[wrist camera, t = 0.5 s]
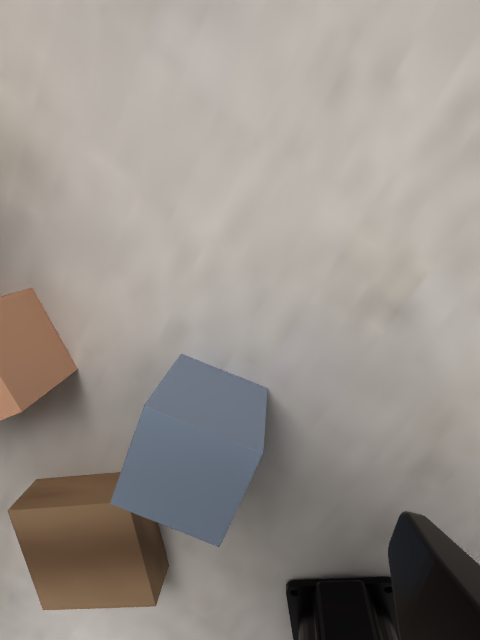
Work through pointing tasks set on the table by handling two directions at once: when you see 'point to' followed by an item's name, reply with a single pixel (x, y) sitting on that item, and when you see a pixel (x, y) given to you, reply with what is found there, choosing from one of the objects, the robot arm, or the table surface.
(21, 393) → the terracotta block
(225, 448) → the slate block
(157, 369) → the table surface
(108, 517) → the walnut slab
